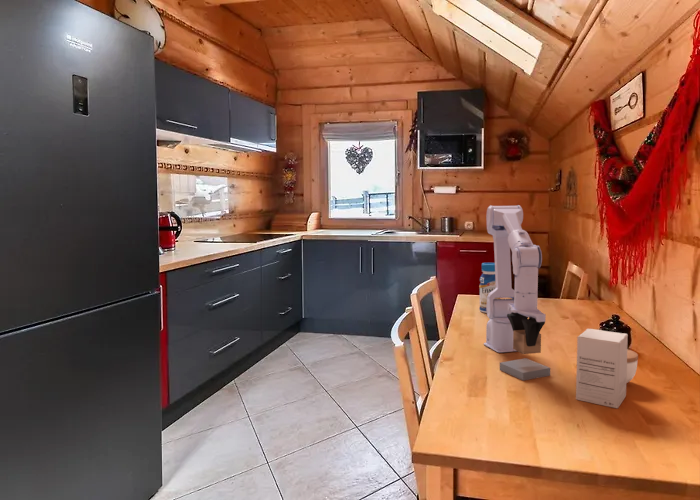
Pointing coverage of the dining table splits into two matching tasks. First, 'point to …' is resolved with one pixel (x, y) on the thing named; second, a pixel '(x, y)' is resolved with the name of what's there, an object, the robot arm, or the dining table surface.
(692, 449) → the dining table surface
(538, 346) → the walnut block
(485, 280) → the beverage bottle
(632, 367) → the lidded jar
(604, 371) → the supplement box
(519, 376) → the plate
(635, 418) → the dining table surface
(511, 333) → the robot arm
